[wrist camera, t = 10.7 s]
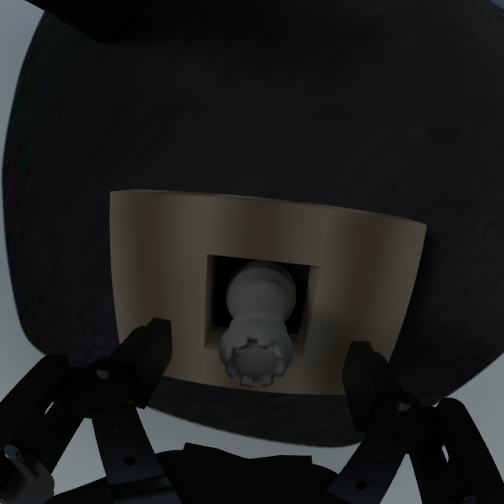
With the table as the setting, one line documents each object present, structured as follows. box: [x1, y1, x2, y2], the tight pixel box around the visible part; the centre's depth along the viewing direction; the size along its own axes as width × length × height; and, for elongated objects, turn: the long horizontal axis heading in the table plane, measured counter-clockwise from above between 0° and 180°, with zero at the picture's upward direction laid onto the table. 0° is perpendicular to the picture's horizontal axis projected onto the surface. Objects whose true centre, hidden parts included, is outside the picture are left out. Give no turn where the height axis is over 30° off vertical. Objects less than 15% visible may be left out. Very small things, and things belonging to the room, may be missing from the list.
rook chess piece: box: [218, 260, 296, 388], centre depth 14 cm, size 4×4×8 cm
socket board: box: [110, 189, 427, 395], centre depth 17 cm, size 18×12×3 cm, turn 85°
